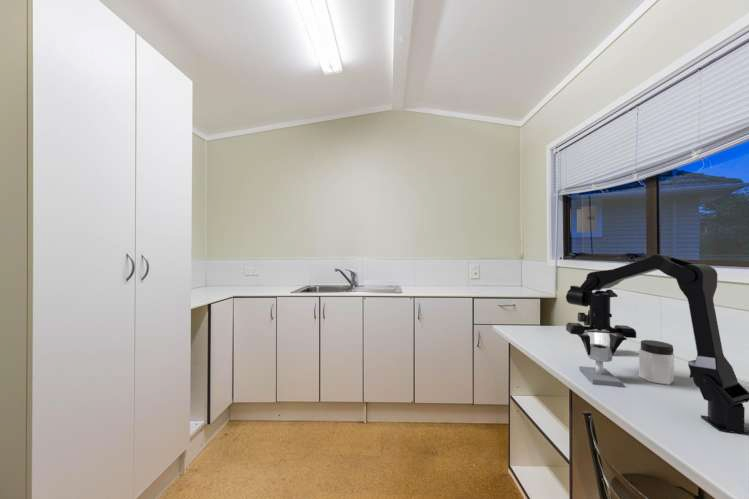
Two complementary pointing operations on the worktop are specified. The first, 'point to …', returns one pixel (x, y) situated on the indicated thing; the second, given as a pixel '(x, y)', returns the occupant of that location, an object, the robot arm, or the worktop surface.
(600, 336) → the white cup
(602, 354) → the hub ring
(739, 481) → the worktop surface
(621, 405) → the worktop surface
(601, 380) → the block
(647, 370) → the jar
